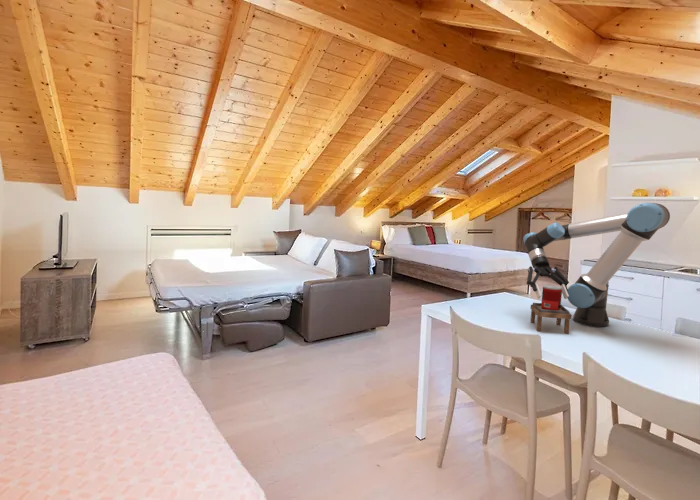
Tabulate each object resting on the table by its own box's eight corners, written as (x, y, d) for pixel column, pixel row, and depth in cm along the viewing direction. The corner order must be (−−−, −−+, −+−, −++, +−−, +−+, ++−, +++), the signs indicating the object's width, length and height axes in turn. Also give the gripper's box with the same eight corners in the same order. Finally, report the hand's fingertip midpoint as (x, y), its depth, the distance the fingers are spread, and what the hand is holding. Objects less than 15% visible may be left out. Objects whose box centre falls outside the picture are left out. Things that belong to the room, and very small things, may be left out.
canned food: (562, 312, 173) (564, 289, 171) (543, 311, 174) (545, 287, 173) (556, 307, 180) (559, 285, 179) (539, 306, 182) (540, 284, 180)
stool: (560, 324, 183) (562, 304, 182) (569, 334, 170) (571, 312, 169) (529, 322, 187) (530, 302, 185) (536, 331, 173) (538, 309, 172)
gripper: (559, 264, 190) (574, 301, 177) (512, 263, 190) (524, 300, 177) (566, 255, 185) (583, 293, 171) (517, 254, 184) (530, 292, 171)
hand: (553, 297), depth 174 cm, fingers open, 12 cm apart
